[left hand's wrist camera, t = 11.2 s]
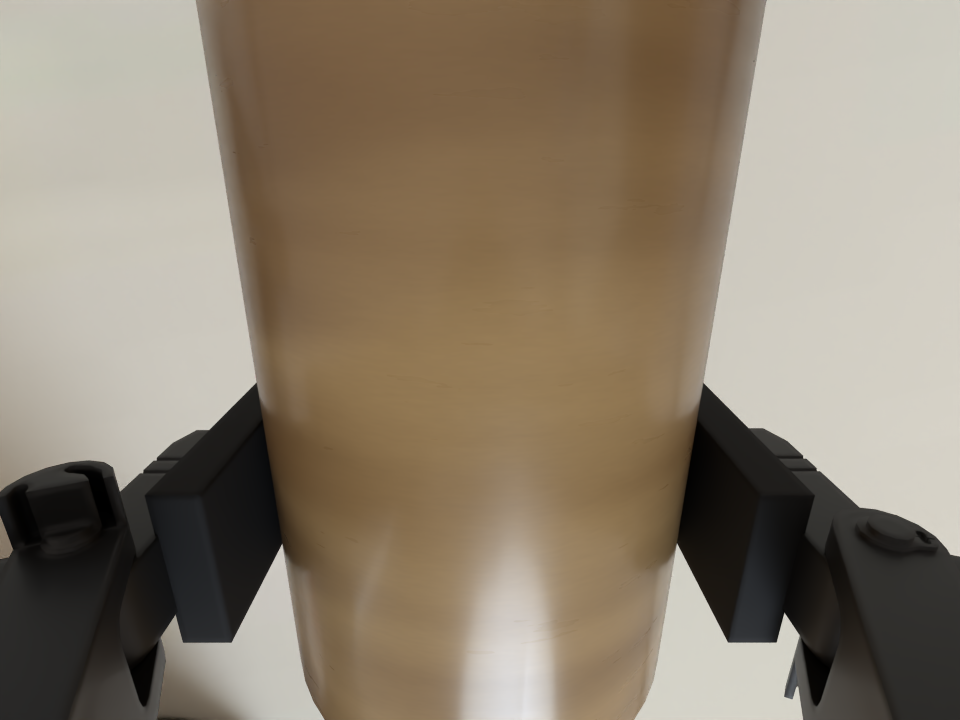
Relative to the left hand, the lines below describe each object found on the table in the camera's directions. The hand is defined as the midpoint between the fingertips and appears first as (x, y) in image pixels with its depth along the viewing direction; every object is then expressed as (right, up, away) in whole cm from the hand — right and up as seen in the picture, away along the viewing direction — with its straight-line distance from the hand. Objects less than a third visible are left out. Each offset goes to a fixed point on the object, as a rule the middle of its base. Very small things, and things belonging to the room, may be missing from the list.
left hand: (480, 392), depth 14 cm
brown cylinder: (0, +8, -2) cm, 8 cm away
